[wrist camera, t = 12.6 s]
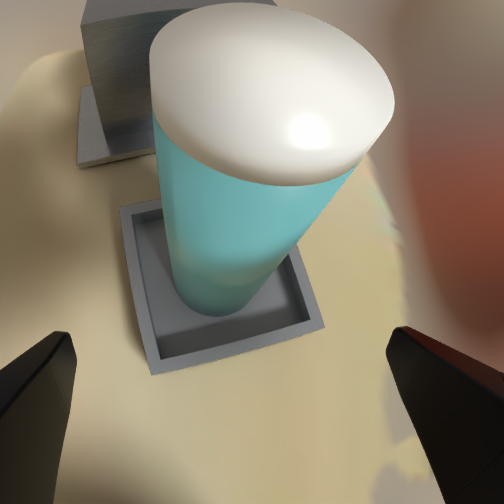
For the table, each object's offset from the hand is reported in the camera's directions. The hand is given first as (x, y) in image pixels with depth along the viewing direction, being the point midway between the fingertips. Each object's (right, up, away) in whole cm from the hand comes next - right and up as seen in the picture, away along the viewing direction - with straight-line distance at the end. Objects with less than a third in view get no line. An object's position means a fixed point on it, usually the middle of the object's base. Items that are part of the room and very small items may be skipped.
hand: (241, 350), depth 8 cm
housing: (-5, +13, +13) cm, 19 cm away
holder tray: (-2, +1, +9) cm, 10 cm away
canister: (-2, +1, +9) cm, 9 cm away
